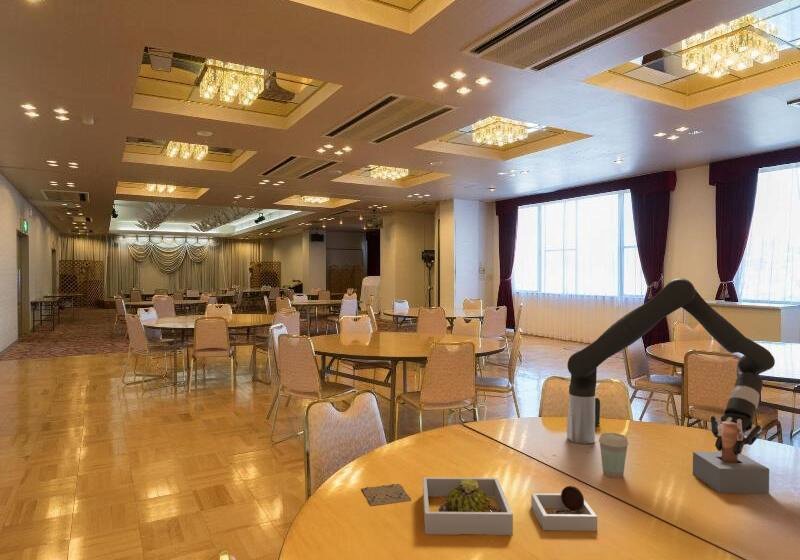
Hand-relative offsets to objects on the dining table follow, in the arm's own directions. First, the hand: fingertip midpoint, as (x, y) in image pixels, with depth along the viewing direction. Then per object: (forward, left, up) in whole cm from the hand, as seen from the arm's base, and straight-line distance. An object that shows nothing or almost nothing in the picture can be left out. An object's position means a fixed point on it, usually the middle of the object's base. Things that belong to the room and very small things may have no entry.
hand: (727, 451), depth 155 cm
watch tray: (-55, -22, -10) cm, 60 cm away
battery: (-20, +60, -10) cm, 64 cm away
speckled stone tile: (-101, -9, -11) cm, 101 cm away
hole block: (+1, +1, -10) cm, 10 cm away
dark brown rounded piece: (-53, -22, -10) cm, 58 cm away
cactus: (-78, -21, -10) cm, 82 cm away
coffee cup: (-31, +7, -10) cm, 33 cm away
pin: (+1, +1, -6) cm, 6 cm away
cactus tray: (-80, -20, -10) cm, 83 cm away
